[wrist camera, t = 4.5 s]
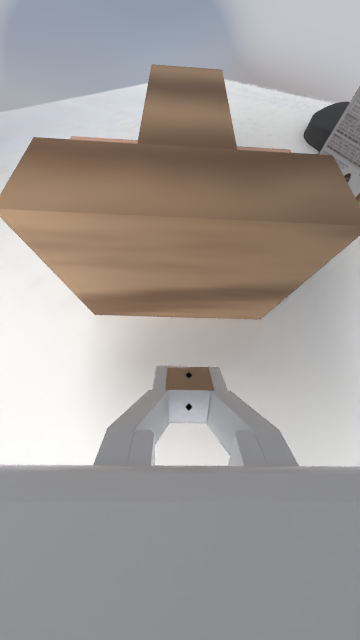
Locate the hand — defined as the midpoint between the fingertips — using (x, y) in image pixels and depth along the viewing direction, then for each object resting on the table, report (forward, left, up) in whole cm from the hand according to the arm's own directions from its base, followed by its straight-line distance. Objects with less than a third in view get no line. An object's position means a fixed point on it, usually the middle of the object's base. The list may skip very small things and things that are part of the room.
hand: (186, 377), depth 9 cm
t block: (-6, +12, -6) cm, 14 cm away
